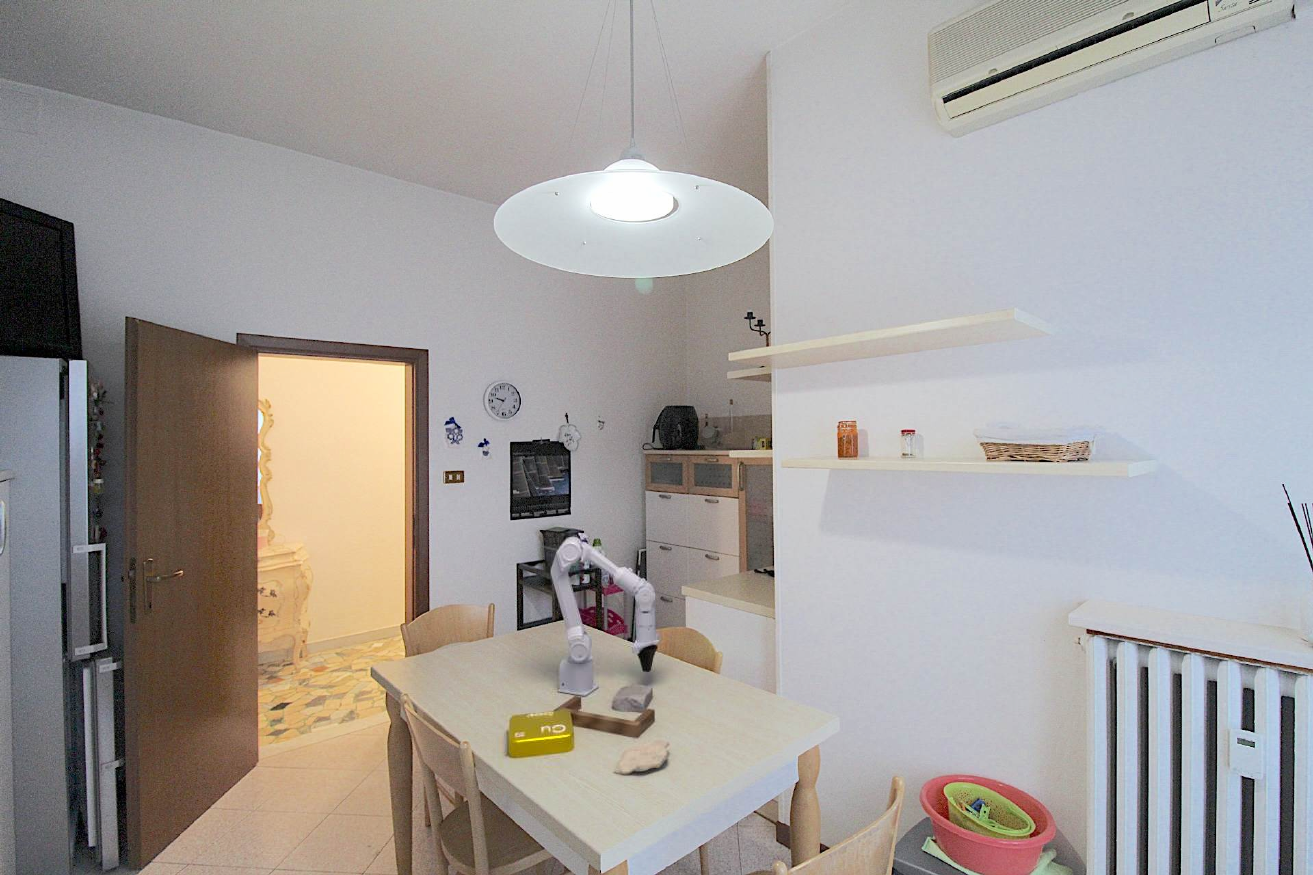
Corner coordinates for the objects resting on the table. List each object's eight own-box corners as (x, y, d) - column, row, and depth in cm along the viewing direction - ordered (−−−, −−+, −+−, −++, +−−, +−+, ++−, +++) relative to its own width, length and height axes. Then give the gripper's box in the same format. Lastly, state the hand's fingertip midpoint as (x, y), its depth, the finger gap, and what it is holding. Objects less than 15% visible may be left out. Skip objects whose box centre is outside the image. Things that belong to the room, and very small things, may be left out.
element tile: (570, 725, 159) (569, 706, 159) (574, 753, 144) (574, 732, 144) (509, 732, 156) (509, 712, 156) (508, 761, 141) (508, 739, 141)
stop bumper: (554, 721, 160) (553, 709, 160) (575, 706, 169) (574, 695, 169) (637, 738, 150) (637, 725, 150) (654, 721, 159) (654, 709, 159)
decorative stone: (651, 745, 147) (603, 775, 137) (648, 729, 148) (600, 758, 137) (684, 753, 140) (636, 786, 129) (681, 736, 140) (633, 768, 129)
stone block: (611, 718, 166) (647, 713, 164) (607, 700, 167) (643, 694, 165) (622, 702, 178) (655, 697, 176) (619, 685, 178) (652, 680, 176)
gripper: (647, 632, 175) (648, 681, 174) (668, 619, 188) (669, 664, 187) (624, 630, 178) (626, 677, 177) (647, 617, 191) (648, 661, 190)
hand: (646, 671), depth 183 cm, fingers closed
